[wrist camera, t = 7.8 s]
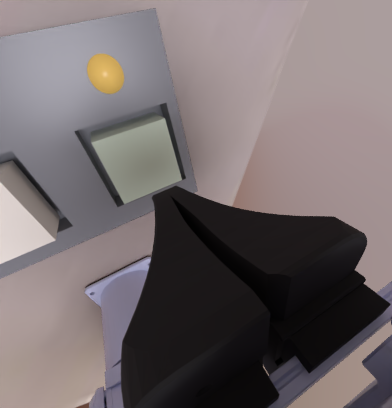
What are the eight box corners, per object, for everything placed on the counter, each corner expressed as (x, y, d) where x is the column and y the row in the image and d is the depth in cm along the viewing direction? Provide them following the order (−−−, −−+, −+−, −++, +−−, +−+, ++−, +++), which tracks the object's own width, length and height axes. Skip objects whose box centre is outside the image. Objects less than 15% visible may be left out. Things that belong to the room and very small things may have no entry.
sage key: (170, 167, 19) (182, 180, 17) (119, 187, 18) (124, 204, 15) (153, 112, 16) (165, 118, 14) (90, 132, 15) (91, 142, 12)
